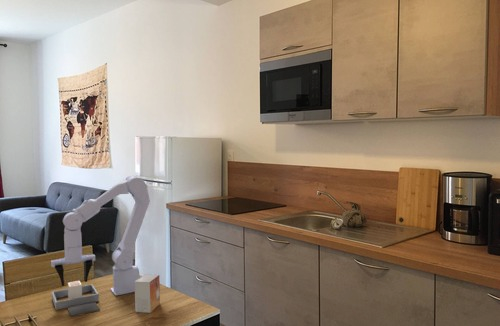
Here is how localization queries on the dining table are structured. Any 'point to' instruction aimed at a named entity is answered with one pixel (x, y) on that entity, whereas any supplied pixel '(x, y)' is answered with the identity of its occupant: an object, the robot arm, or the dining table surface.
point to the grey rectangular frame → (76, 300)
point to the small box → (147, 293)
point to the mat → (83, 309)
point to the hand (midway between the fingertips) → (74, 283)
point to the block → (74, 289)
